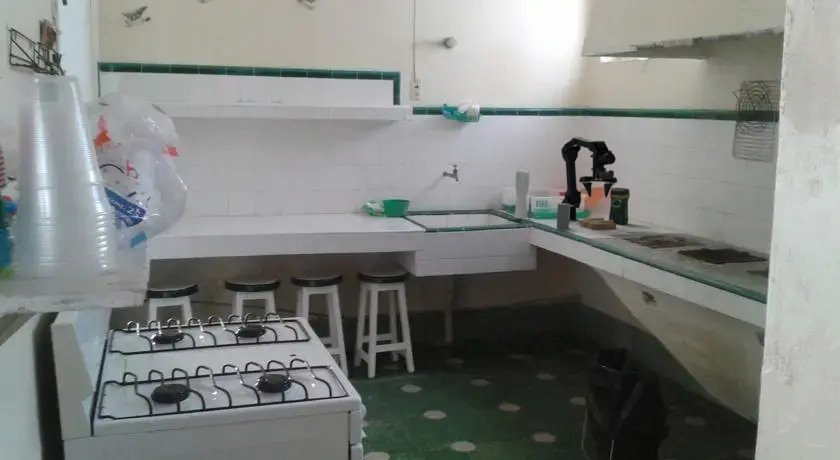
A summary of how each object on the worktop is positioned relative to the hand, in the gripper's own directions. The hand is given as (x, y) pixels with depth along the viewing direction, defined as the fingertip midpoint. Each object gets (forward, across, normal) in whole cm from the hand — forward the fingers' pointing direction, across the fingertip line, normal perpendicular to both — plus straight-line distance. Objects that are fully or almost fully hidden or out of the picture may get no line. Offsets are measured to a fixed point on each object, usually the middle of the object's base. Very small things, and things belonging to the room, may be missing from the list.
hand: (598, 197), depth 382 cm
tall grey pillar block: (+16, -20, 0) cm, 25 cm away
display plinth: (+15, 0, 0) cm, 15 cm away
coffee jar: (+13, +18, +10) cm, 24 cm away
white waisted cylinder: (+11, -25, +34) cm, 44 cm away
